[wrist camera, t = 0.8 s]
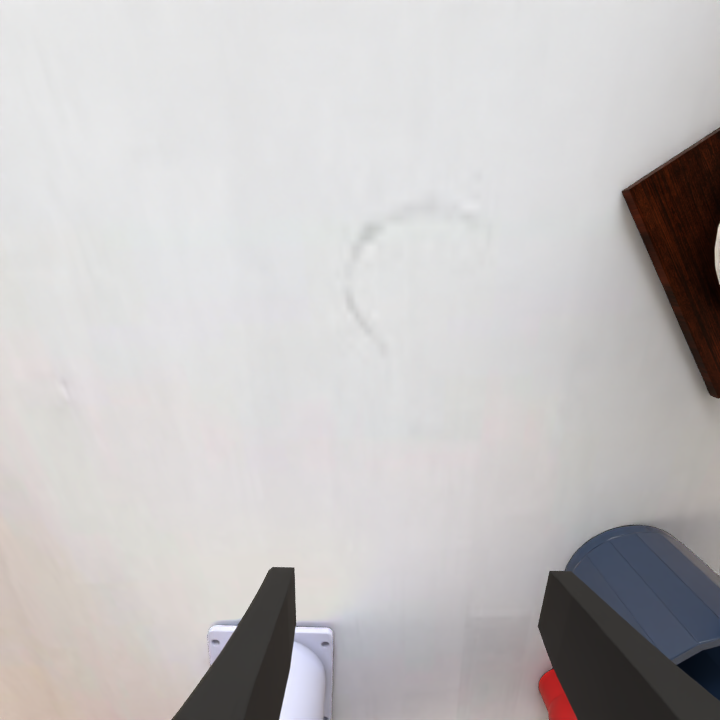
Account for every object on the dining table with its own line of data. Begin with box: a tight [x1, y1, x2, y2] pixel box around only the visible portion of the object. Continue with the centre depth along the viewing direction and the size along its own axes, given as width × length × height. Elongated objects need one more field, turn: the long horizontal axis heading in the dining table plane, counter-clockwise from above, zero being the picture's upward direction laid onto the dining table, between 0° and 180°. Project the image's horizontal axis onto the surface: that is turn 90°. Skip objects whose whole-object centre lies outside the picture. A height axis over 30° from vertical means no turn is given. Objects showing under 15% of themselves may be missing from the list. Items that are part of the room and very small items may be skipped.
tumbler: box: [565, 525, 720, 701], centre depth 20 cm, size 8×8×6 cm
